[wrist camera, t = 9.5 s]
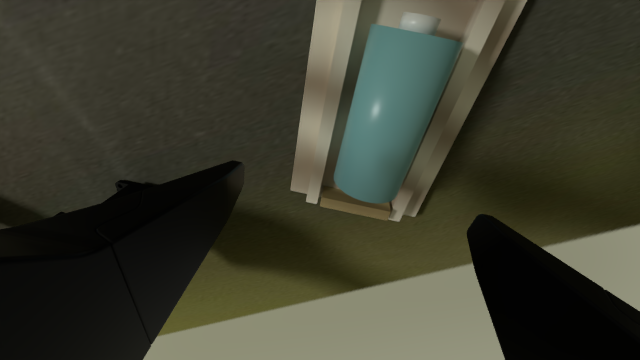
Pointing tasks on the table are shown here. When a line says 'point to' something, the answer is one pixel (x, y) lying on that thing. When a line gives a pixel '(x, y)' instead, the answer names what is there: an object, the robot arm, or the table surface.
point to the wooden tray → (341, 77)
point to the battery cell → (392, 105)
